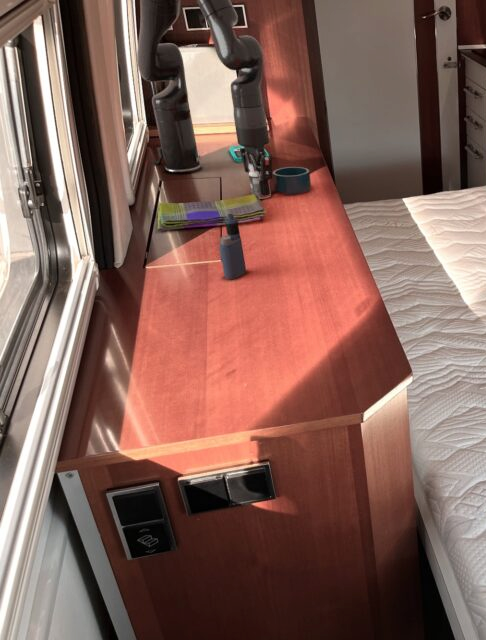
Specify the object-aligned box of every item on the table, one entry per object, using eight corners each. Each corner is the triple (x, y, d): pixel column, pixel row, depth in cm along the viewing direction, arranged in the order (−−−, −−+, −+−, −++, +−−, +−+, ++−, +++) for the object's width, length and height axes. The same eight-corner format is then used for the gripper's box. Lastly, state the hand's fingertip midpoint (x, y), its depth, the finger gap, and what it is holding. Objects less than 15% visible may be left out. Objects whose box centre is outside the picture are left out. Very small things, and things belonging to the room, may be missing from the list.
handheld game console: (262, 147, 254) (261, 142, 254) (270, 159, 242) (270, 154, 241) (229, 150, 251) (228, 145, 250) (236, 162, 238) (235, 157, 238)
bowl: (269, 189, 214) (266, 170, 212) (301, 183, 219) (299, 165, 217) (285, 197, 208) (282, 178, 206) (317, 191, 213) (315, 172, 211)
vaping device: (249, 271, 164) (239, 213, 158) (233, 280, 160) (223, 221, 154) (238, 269, 165) (228, 212, 159) (222, 278, 160) (211, 220, 155)
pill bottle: (254, 194, 211) (249, 161, 207) (272, 193, 211) (268, 161, 207) (250, 199, 207) (245, 166, 202) (269, 199, 207) (264, 166, 203)
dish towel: (158, 210, 198) (156, 199, 196) (261, 201, 205) (260, 190, 204) (158, 233, 184) (155, 221, 182) (268, 222, 191) (267, 210, 190)
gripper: (278, 127, 197) (287, 196, 206) (253, 117, 207) (262, 184, 215) (248, 131, 193) (259, 201, 201) (224, 121, 203) (235, 189, 211)
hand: (261, 192), depth 208 cm, fingers closed on pill bottle, 4 cm apart
